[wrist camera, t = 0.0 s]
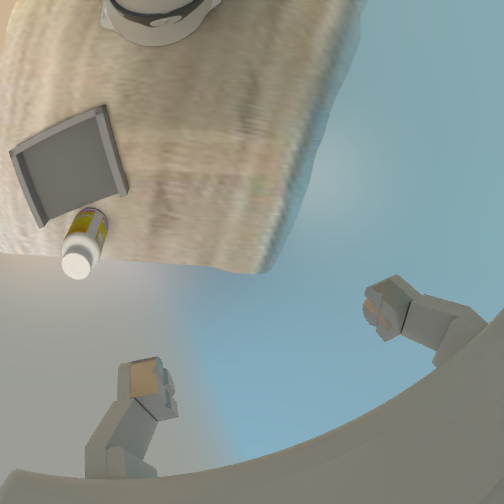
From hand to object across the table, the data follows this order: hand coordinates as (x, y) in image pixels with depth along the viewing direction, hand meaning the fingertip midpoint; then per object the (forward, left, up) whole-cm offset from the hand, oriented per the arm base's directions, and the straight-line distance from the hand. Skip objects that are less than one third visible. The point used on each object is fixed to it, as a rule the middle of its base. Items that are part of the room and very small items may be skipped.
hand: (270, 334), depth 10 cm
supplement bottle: (+10, -20, -39) cm, 45 cm away
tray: (-2, -20, -39) cm, 44 cm away
